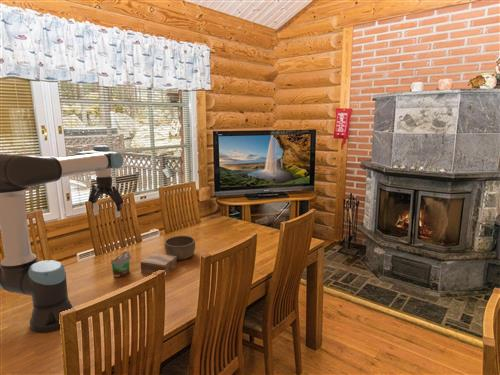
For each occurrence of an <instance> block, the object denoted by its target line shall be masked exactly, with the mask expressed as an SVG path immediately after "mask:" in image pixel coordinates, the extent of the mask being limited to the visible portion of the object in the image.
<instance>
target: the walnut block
mask: <svg viewBox="0 0 500 375" xmlns="http://www.w3.org/2000/svg"><path fill="white" fill-rule="evenodd" d="M177 261H178V260H177V256H170V255H167V254H162V253H161V254H160V253H156V252H155V253H152V254H151V255H149V256H147V257H146V258H144V259H143V260H141V261H140V273H141V274H147V275H152V273H153V272H156V271H158V270H165V272H166V276H168V275H169V274H170V273H171V272H173V271H174V270H175V269H176V268H177V267H178V262H177ZM168 273H169V274H168ZM167 274H168V275H167Z"/></svg>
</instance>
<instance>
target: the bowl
mask: <svg viewBox="0 0 500 375" xmlns="http://www.w3.org/2000/svg"><path fill="white" fill-rule="evenodd" d="M164 249H165V250H164V251H165V255H170V256H177V261H179V260H186V259H188V258H191V256H193V254H194V253H195V251H196V240H195V238H193V237H192V236H189V235H176V236H172V237H171V236H170V237H169V238H167V239H166V240H165V241H164Z"/></svg>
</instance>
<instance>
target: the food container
mask: <svg viewBox="0 0 500 375" xmlns="http://www.w3.org/2000/svg"><path fill="white" fill-rule="evenodd" d="M131 258H132V257H131V254H130V252H129V251H123V253H122V254H120V255H118V256H117V257H116V258H115V259H111V261H110V265H111V268H112V275H113V279H114V278H115V279H120V278H123V277H127V276H128V275H129V274H130V264H131V263H130V260H131Z"/></svg>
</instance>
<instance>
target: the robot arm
mask: <svg viewBox="0 0 500 375" xmlns="http://www.w3.org/2000/svg"><path fill="white" fill-rule="evenodd" d="M123 164H124V156H123V154H122V153H120V152H117V151H116V152H115V151H111V150H110V146H108V145H94V146H93V150H87V151H83V150H82V151H78V152H76V153H75V154H74V155H73V156H65V157H64V156H63V157H56V156H38V155H24V154H8V153H0V234H1V242H2V248H3V255H4V257H3V259H1V261H0V289H1V290H4V291H7V292H9V293H14V294H15V293H16V294H21V295H25V296H26V295H27V296H30V297H31V298H32V305H33V308H32V312H31V317H30V320H29V327H30V330H31V331H32V332H35V333H50V332H55V331H58V330H61V329H60V324H59V313H60V312H62V311H65V310H68V309H71V308H74V307H73V304H72V303H71V301H70V299H69V293H68V282H67V272H66V268H65V265H64V264H63V262H60V261H57V260H54V259H53V260H52V259H50V260H41V261H40V260H39V261H38V258H37V254H35V253H33V252H32V247H31V240H30V239H31V238H30V232H29V224H28V217H27V216H28V215H27V210H26V209H27V208H26V204H25V203H26V202H25V200H26V199H25V195H24V194H25V193H26V192H27V191H28V189H29V188H30V187H35V186H36V187H37V186H40V185H45V184H48V183H49V184H50V183H53V182H58V181H59V180H60V179H62V178H65V177H71V176H75V175H81V174H85V173H86V174H87V173H91V172H95V176H96V177H95V184H92V186H91V187H92V188H91V191H90V194H89V197H88V202H89V203H91V207H92V210H93V216H95V217H96V216H98V215H100V214H99V213H100V212H99V211H100V210H99V202H98V200H99V198H100V197H101V196H102V195H107V196H109V198H110V199H111V200H112V201H113V203H114V204H115V205H114V212H115V214H114V215H115V218H116V219H117V218H120V217H121V210H122V204H123V205H124V203H125V202H124V199H123V197H122V196H121V192H120V191H119V189H118V185H112V183H113V176H112V169H120V168H121V167H122V166H123Z"/></svg>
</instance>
